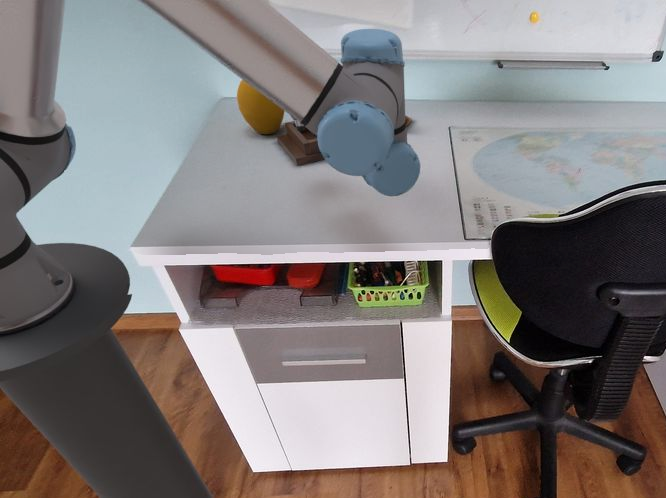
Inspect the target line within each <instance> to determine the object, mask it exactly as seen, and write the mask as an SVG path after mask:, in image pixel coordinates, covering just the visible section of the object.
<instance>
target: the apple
mask: <svg viewBox="0 0 666 498" xmlns="http://www.w3.org/2000/svg"><path fill="white" fill-rule="evenodd" d="M236 99H237V105H238V110H239V111H240V114H241V116H242V117H243V119H244V120H245V122H246V123H247V124H248V125H249V126H250V128H252V129H253V130H254V131H255V132H256V133H258V134H260V135H273V134H275V133H276V132H278V130H279V129H280V127H281V125H282V123H283V120H284V117H285V111H284V110H283V109H282V108H280V107H279V106H277V105H276V104H275V103H273V102H272V101H271V100H269V99H268V98H267V97H265V96H264V95H263V94H261V93H260V92H259V91H257V90H256V89H255V88H253V87H252V86H251V85H249V84H248V83H246V82H245V81H244V80H242V79H241V81H240V82H239V84H238V87H237V91H236Z"/></svg>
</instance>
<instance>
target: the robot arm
mask: <svg viewBox="0 0 666 498" xmlns="http://www.w3.org/2000/svg"><path fill="white" fill-rule="evenodd" d="M135 1H136V2H137V3H138V4H140V5H141V6H143V7H144V8H145V9H147V10H148V11H149V12H151V13H152V14H153V15H154V16H156V17H157V18H159V19H160V20H161V21H163V22H164V23H166V24H167V25H168V26H169V27H170V28H172V29H173V30H175V31H176V32H178V33H179V34H180V35H182V36H183V37H185V39H187V40H188V41H190V42H191V43H193V45H195V46H197V47H198V48H199V49H201V50H202V51H203V52H205V54H207V55H209V56H210V57H211V58H212V59H214V60H215V61H217V62H218V63H220V65H222V66H223V67H225V68H226V69H228V70H229V71H230V72H231V73H233V74H234V75H236V76H237V77H238V78H240V79H241V81H242V80H244V81H245V82H246V83H248V84H249V85H251V86H252V87H253V88H255V89H256V90H257V91H259V92H260V93H261V94H263V95H264V96H265V97H267V98H268V99H269V100H271V101H272V102H273V103H275V104H276V105H277V106H279V107H280V108H282V109H283V110H284V112H286V114H287V115H289V116H290V118H291V119H292V120H293V121H295V124H296V129H297V131H303V130H304V129H305V127H306V128H308V129H309V130H310V131H311V132H313V133H314V134H315V135H317V140H318V146H319V149H320V151H321V153H322V155H323V157H324V158H325V159H324V160H325V161H326V163H327V164H328V165H329V166H330V167H331V168H332V169H334V170H336V172H339V173H341V174H343V175H347V176H354V177H362V178H363V180H364V182H365V183H366V184H367V185H368V186H370V187H372V188H373V189H374V190H376V191H377V192H378V193H379V194H380V195H383V196H386V197H399V196H401V195H405V194H406V193H407V192H409V191H410V190H411V189H412V188H413V187H414V186H415V185H416V183H417V181H418V179H419V177H420V174H421V160H420V158H419V155H418V154H417V152H416V151H415V150H414V148H413V147H412V145H411V144H409V143H408V126H407V125H406V119H405V115H406V99H405V97H406V96H405V66H406V65H405V64H406V63H405V61H404V53H403V45H402V44H403V43H402V40H401V39H400V37H399V36H398V35H397V34H395V33H394V32H392V31H391V30H390V31H389V30H386V29H381V28H360V29H354V30H351V31H349V32H346V33H345V34H344V35H343V36H342V38H341V40H340V49H341V51H340V52H341V58H340V62H339V61H338V60H336V58H334V57H333V56H332V55H331V54H330V53H328V52H327V50H325V49H324V48H322V47H321V46H319V44H318V43H316V42H315V41H314V40H313V39H311V37H309V36H308V35H306V33H304V32H303V31H302V30H301V29H300V28H298V27H297V25H295V24H294V23H292V21H290V20H289V19H288V18H287V17H285V16H284V15H283V14H282V13H281V12H279V11H278V10H277V9H276V8H275V7H273V6H272V5H271V4H270V3H269V2H267V1H266V0H135ZM65 8H66V0H0V336H6V335H11V334H15V333H19V332H22V331H25V330H28V329H30V328H33V327H35V326H37V325H40V324H42V323H44V322H45V321H47V320H49V319H51V318H52V317H54V316H55V315H57V314H58V313H59V312H61V311H62V310H63V309H64V308H65V307H66V306H67V305H68V304H69V303H70V301H71V300H72V298H73V296H74V294H75V291H76V284H75V281H74V279H73V278H72V276H71V274H70V273H69V271H68V270H67V269H66V268H65V267H64V266H63V265H62V264H60V263H59V262H58V261H57V260H55V259H54V258H53V257H52V256H50V255H49V254H48V253H47V252H45V251H44V250H43V249H42V248H40V247H39V246H38V245H39V244H37V243H35V242H34V240H33V239H32V238H31V236H30V235H29V234H28V232H27V231H26V229H25V227H24V226H23V224H22V223H21V221H20V220H19V218H18V217H17V215H18V213H19V212H20V211H21V210H22V209H24V207H26V205H28V204H29V202H30V201H31V200H33V199H34V198H35V197H36V196H38V194H40V193H41V192H42V191H43V190H44V189H45V188H46V187H47V186H48V185H49V184H50V183H52V182H53V181H54V180H57V179H58V178H59V177H60V176H62V175H63V174H64V173H65V171H66V170H67V169H68V168H69V166H70V165H71V163H72V161H73V159H74V157H75V154H76V147H77V143H76V137H75V136H76V135H75V133H74V130H73V128H72V126H70V125H68V124H67V117H66V113H65V111H64V109H63V107H62V106H61V105H60V103H58V101H56V99H55V97H56V91H57V90H56V88H57V81H58V80H57V79H58V71H59V62H60V54H61V53H60V52H61V45H62V44H61V43H62V34H63V27H64V26H63V25H64V16H65Z"/></svg>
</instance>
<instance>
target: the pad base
mask: <svg viewBox="0 0 666 498" xmlns="http://www.w3.org/2000/svg"><path fill="white" fill-rule="evenodd" d="M284 125H285V130H286V133H285V134H279V135H276V141H277V143H278V145H279V146H280V147H281V149H282V150H283V151H284V152H285V153H286V154H287V155H288V156H289V158H290V159H291V160H292V161H293V163H294V164H295V165H296V166H301V165H306V164H309V163H314V162H319V161H322V160H325V158H324V157H323V155H322V153H321V151H320V149H319V146H318V140H317V136H314V135H313V134H312V133H311V132H310V131H309V130H308V129H307V128H306V127H305V129H304V130H303V131H297V129H296V124H295V121H294V120H293V121H288V122H285V123H284Z"/></svg>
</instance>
